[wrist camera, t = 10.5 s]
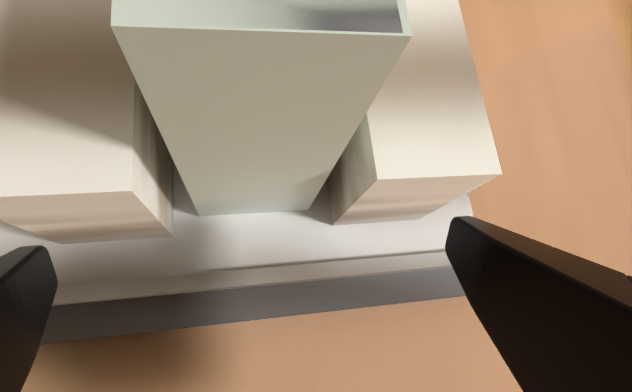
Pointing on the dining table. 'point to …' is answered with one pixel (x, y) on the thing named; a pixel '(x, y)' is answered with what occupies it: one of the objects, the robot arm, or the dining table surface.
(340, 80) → the block
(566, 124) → the dining table surface
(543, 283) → the robot arm
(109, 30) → the rail board
